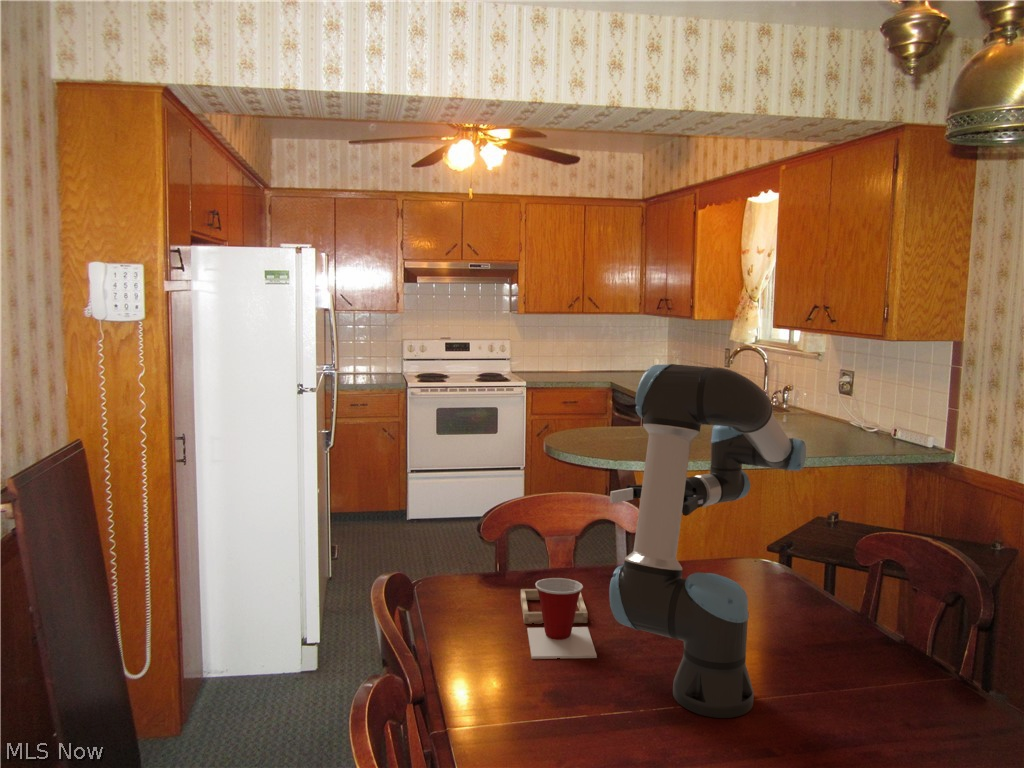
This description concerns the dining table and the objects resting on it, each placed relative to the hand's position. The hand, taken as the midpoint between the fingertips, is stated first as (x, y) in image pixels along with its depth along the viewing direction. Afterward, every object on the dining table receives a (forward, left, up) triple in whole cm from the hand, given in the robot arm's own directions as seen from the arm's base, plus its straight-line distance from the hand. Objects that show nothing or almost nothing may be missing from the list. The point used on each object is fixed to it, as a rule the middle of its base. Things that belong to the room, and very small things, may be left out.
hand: (630, 504), depth 177 cm
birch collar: (+12, +16, -30) cm, 36 cm away
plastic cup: (-3, +16, -30) cm, 34 cm away
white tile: (-6, +16, -30) cm, 35 cm away
